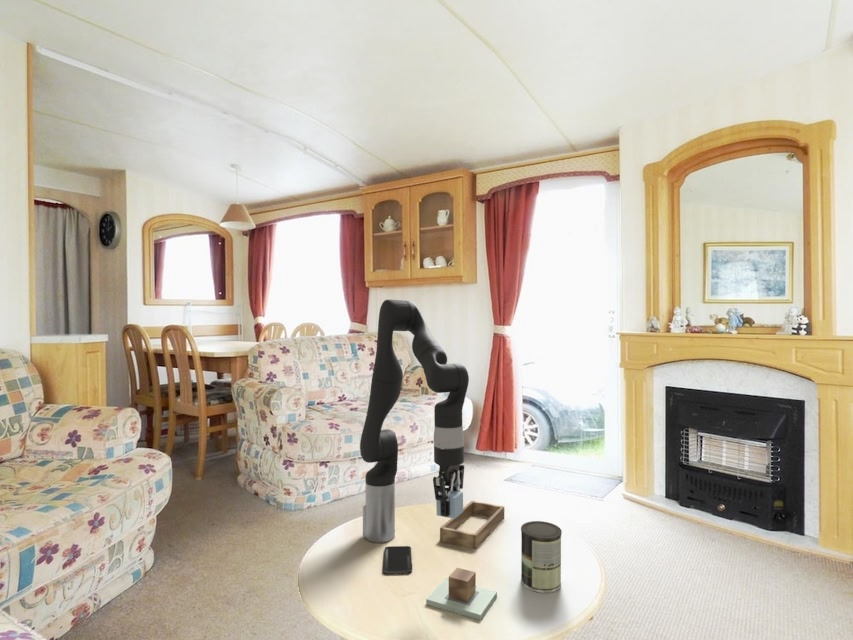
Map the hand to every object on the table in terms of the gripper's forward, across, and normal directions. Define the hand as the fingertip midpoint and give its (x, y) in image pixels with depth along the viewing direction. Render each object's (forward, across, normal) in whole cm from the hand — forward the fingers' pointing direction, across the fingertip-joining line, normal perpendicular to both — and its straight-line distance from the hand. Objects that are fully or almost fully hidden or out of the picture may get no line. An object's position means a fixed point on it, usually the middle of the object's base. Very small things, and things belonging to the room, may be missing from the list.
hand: (449, 511), depth 126 cm
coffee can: (+21, -16, +18) cm, 32 cm away
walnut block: (+19, +1, +4) cm, 20 cm away
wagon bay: (+20, -39, -10) cm, 45 cm away
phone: (+20, -9, -21) cm, 30 cm away
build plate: (+21, +1, +3) cm, 21 cm away
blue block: (0, 0, 0) cm, 0 cm away
